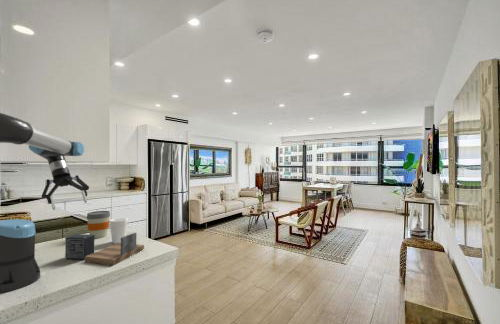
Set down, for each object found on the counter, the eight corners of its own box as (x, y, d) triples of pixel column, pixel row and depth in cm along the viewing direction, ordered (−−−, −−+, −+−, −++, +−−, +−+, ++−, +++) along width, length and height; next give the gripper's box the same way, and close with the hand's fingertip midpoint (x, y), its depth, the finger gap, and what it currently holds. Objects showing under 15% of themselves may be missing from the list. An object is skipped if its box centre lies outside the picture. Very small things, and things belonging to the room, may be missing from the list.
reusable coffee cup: (106, 238, 144) (107, 213, 144) (83, 240, 140) (83, 215, 140) (112, 232, 156) (112, 210, 156) (90, 234, 152) (90, 211, 152)
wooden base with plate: (113, 265, 104) (114, 241, 104) (85, 261, 108) (85, 239, 108) (144, 249, 124) (144, 229, 124) (118, 247, 127) (119, 228, 127)
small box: (95, 255, 116) (95, 234, 116) (84, 260, 110) (85, 238, 110) (75, 254, 117) (76, 233, 117) (64, 259, 111) (64, 237, 111)
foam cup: (110, 240, 139) (110, 218, 139) (128, 238, 143) (128, 217, 143) (108, 245, 131) (108, 222, 131) (127, 243, 134) (127, 220, 135)
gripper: (85, 170, 139) (96, 201, 134) (29, 178, 121) (38, 215, 115) (87, 164, 135) (99, 196, 129) (29, 170, 116) (39, 208, 110)
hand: (70, 205), depth 122 cm, fingers open, 13 cm apart
